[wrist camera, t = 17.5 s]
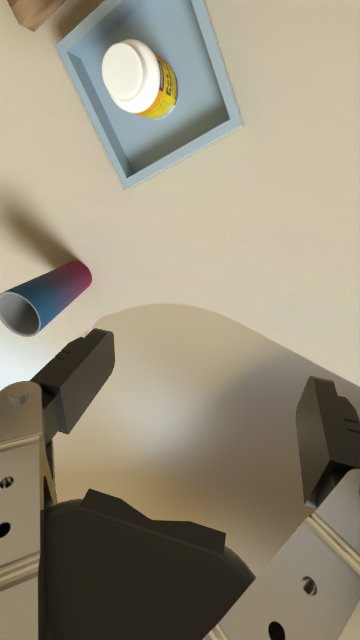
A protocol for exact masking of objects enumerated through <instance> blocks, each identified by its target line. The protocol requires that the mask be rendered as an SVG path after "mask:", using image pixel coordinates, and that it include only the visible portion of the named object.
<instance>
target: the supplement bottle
mask: <svg viewBox="0 0 360 640" xmlns="http://www.w3.org/2000/svg"><path fill="white" fill-rule="evenodd" d="M102 77H103V81H104V84H105V86H106V88H107V90H108V92H109V94H110V96H111V98H112V99H113V101H114V102H115V104H116V105H117V106H119V107H120V108H121V109H123V110H124V111H127V112H129V113H133V114H136V115H139V116H143V117H146V118H149V119H153V120H159V119H163V118H165V117H167V116H168V115H169V114H170V113H171V112H172V111H173V109H174V108H175V106H176V103H177V100H178V95H179V86H178V81H177V78H176V75H175V73H174V71H173V70H172V69H171V67H170V66H169V65H168V64H167V63H166V62H164V61H163V60H162V59H161V58H160V57H159V56H158V55H157V54H156V53H154V52H153V51H152V50H151V49H150V48H149V47H148V46H147V45H145V44H144V43H142V42H140V41H138V40H134V39H128V40H124V41H122V42H120V43H116V44H114V45H112V46H111V47H110V48H109V49H108V50H107V51H106V53H105V55H104V58H103V61H102Z"/></svg>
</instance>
